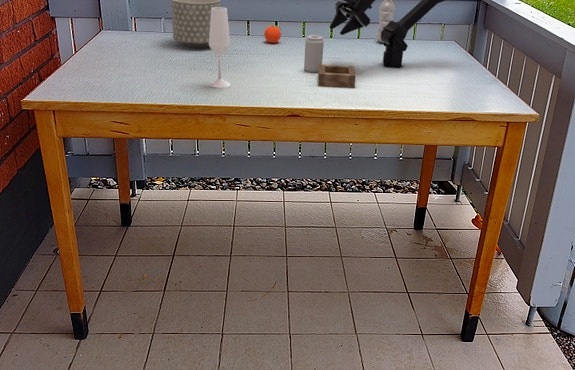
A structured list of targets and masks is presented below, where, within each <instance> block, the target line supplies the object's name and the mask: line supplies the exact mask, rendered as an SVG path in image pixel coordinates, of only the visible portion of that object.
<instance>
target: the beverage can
mask: <svg viewBox="0 0 575 370" xmlns="http://www.w3.org/2000/svg"><path fill="white" fill-rule="evenodd" d="M324 42H325V41H324V36H321V35H311V34H310V35H307V36H306V39H305V43H304V44H305V45H304V46H305V47H304V59H303V60H304V62H303V69H304V70H305V71H306V72H308V73H319V64H323V56H324Z"/></svg>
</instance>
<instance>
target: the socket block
mask: <svg viewBox="0 0 575 370" xmlns="http://www.w3.org/2000/svg"><path fill="white" fill-rule="evenodd" d="M317 73H318V74H317V75H318V79H317V82H318V84H317V85H318V87H332V88H333V87H335V88H352V89H354V88H355V87H356V78H357V75H356V71H355V66H354V65H341V64H340V65H339V64H326V63H325V64H323V63H322V64H319V72H317Z"/></svg>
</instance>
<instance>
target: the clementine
mask: <svg viewBox="0 0 575 370" xmlns="http://www.w3.org/2000/svg"><path fill="white" fill-rule="evenodd" d="M281 30H282V29H281V27H280V26H277V25H269V26H268V27H266V29H265V30H264V35H263V36H264V38H265V40H266V42H269V43H271V44H276V43H278V41H279V40H281V37H282V32H281Z"/></svg>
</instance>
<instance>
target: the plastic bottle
mask: <svg viewBox="0 0 575 370" xmlns="http://www.w3.org/2000/svg"><path fill="white" fill-rule="evenodd" d="M395 11H396V5H395V4H394V2H393V0H382V2H381V4H380V5H379V11H378V12H379V20H378V21H379V23H378V29H377V33H376V37H375V38H376V41H377V42H378V43H381V44H383V41H382V40H381V32H382V30H383V29H384V28H383V27H385V26H387V25H388V23H389V22H390V21H394V20H393V19H394V15H395Z"/></svg>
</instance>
